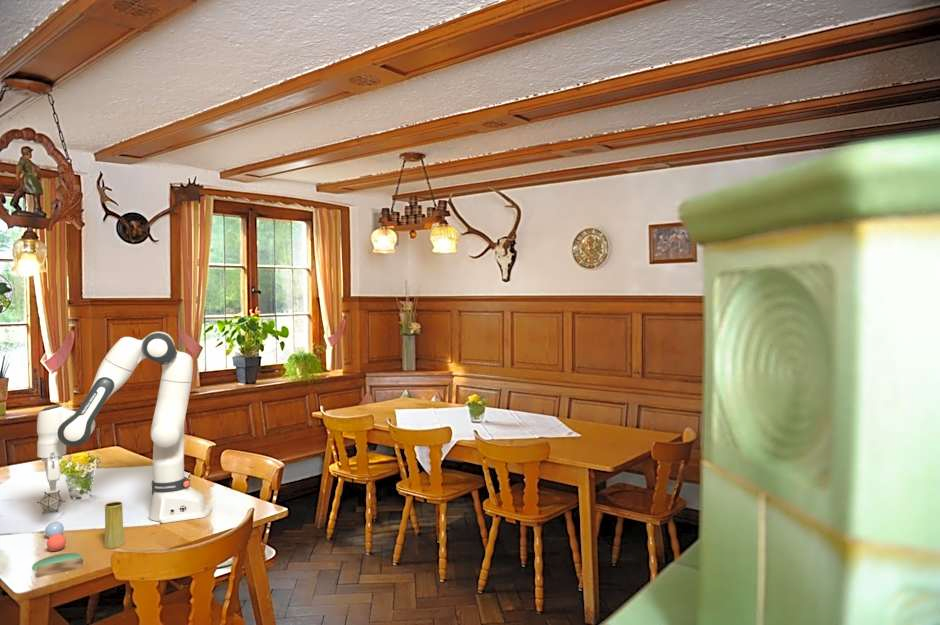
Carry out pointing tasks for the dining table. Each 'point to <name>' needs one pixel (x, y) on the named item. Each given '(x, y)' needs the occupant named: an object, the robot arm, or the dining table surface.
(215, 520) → the dining table surface
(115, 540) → the vase
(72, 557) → the green mark
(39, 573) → the walnut stop
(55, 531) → the blue ball
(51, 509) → the game die
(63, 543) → the red ball
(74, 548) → the dining table surface
